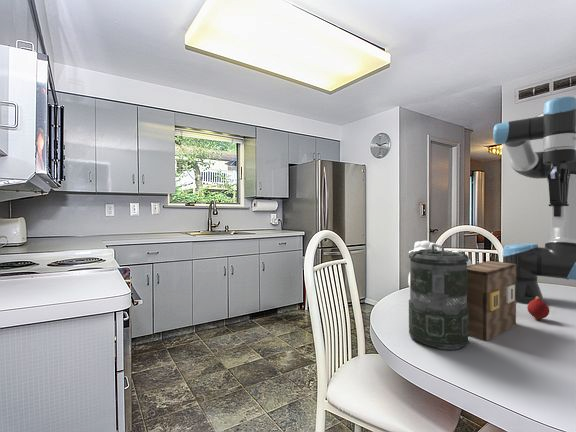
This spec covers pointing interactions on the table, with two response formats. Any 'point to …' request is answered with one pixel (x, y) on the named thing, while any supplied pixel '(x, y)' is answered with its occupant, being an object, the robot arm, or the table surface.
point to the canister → (438, 298)
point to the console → (478, 298)
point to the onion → (538, 308)
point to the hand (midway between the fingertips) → (558, 227)
